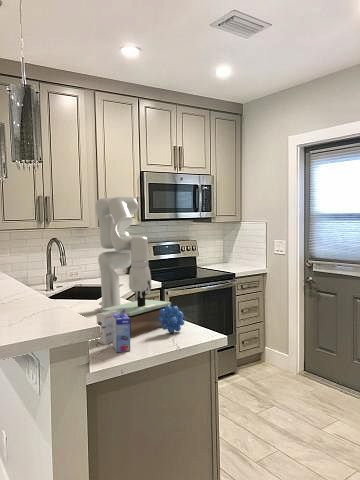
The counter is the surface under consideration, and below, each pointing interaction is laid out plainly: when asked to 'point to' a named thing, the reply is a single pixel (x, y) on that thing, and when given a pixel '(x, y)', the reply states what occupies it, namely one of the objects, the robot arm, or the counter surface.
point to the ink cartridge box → (121, 332)
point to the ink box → (106, 326)
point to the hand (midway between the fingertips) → (141, 306)
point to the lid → (134, 309)
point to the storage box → (145, 322)
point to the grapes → (171, 318)
